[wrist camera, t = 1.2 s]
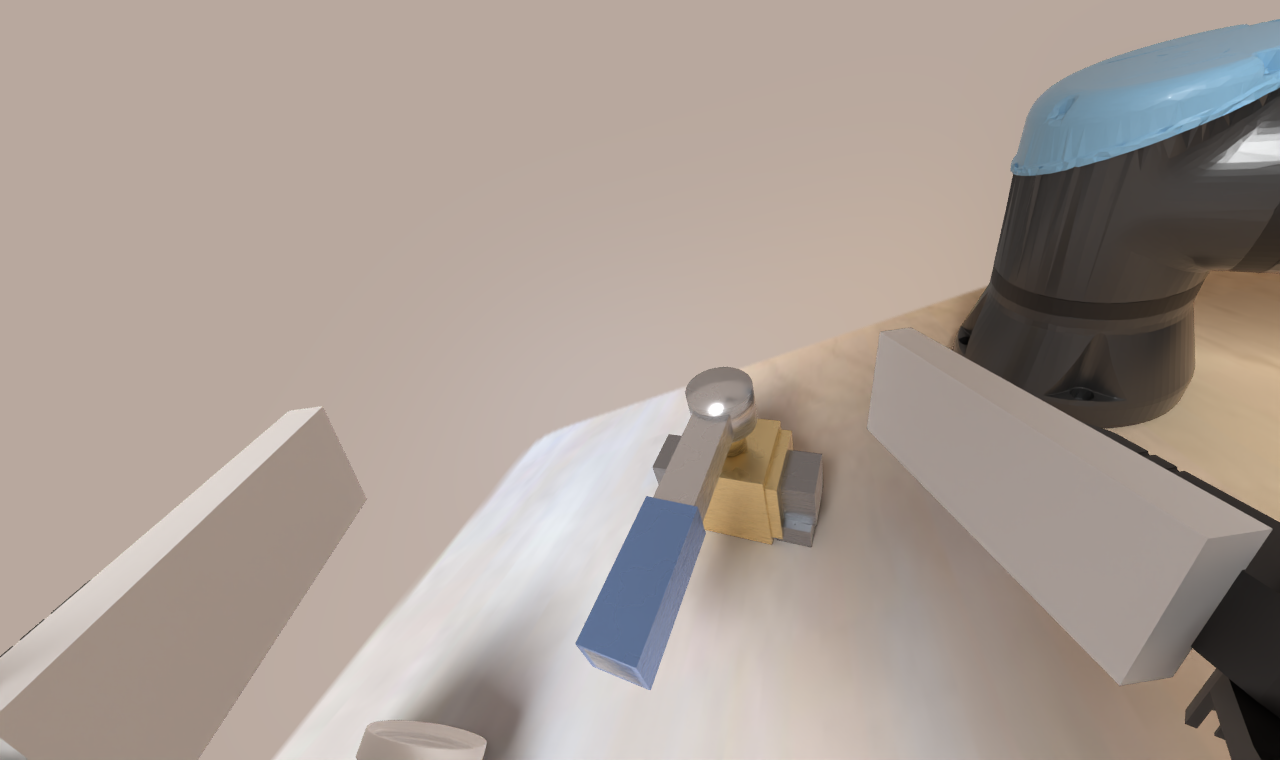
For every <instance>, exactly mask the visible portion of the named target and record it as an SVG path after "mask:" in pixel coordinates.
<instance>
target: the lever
mask: <svg viewBox="0 0 1280 760" xmlns="http://www.w3.org/2000/svg"><path fill="white" fill-rule="evenodd" d="M685 394H686V399H687V402H688V406H689V410H690V414H691V418H690V420H689V422H688V424H687V426H686V428H685V431H684V433H683V435H682V437H681V439H680V441H679V443H678V445H677V448H676V450H675V452H674V454H673V456H672V458H671V460H670V463H669V465H668V467H667V469H666V471H665V473H664V475H663V478H662V480H661V482H660V484H659V486H658V488H657V490H656V492H655V495H654V497H648V496H646V498H645V500H644V502H643V504H642V506H641V509H640V511H639V513H638V515H637V517H636V519H635V521H634V523H633V525H632V527H631V529H630V531H629V534H628V536H627V538H626V540H625V542H624V544H623V546H622V548H621V550H620V552H619V554H618V556H617V558H616V561H615V563H614V565H613V567H612V569H611V571H610V573H609V575H608V577H607V579H606V581H605V583H604V585H603V588H602V590H601V592H600V594H599V596H598V598H597V600H596V602H595V604H594V606H593V608H592V610H591V612H590V615H589V617H588V619H587V621H586V623H585V625H584V627H583V629H582V631H581V633H580V635H579V637H578V639H577V642H576V645H577V647H578V648H579V649H580V650H581V652H582V653H583V654H584V656H585V657H586V658H587V660H588V661H589V662H590V663H591V665H592V666H593V667H595V668H598V669H600V670H603V671H605V672H607V673H610V674H612V675H615V676H617V677H619V678H622V679H624V680H627V681H629V682H631V683H634V684H636V685H638V686H641V687H643V688H646V689H648V690H651V687H652V684H653V682H654V679H655V676H656V673H657V670H658V667H659V665H660V662H661V659H662V656H663V653H664V650H665V648H666V645H667V642H668V639H669V636H670V633H671V631H672V628H673V625H674V622H675V619H676V616H677V614H678V611H679V608H680V605H681V602H682V599H683V597H684V594H685V591H686V588H687V585H688V582H689V580H690V577H691V574H692V571H693V568H694V565H695V563H696V560H697V557H698V554H699V551H700V548H701V546H702V543H703V540H704V537H705V534H706V532H705V529H704V525H703V520H704V518H705V515H706V512H707V509H708V507H709V504H710V501H711V498H712V496H713V493H714V490H715V488H716V485H717V482H718V479H719V477H720V474H721V471H722V468H723V466H724V463H725V460H726V457H727V455H728V452H729V449H730V446H731V444H732V443H733V442H736V441H739V440H741V439H743V438H745V437H746V436H748V435H749V434H750V433H751V432H752V431H753V430H754V428H755V427H756V424H757V411H756V404H755V398H754V391H753V384H752V380H751V378H750V377H749V375H748V374H746V373H745V372H743V371H742V370H739V369H736V368H731V367H719V368H714V369H709V370H707V371H704V372H702V373H700V374H698V375H697V376H695V377H694V378H693V379H692V380H691V381H690V382H689V384H688V385H687V387H686V392H685Z"/></svg>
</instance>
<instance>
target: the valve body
mask: <svg viewBox="0 0 1280 760" xmlns="http://www.w3.org/2000/svg"><path fill="white" fill-rule="evenodd" d="M681 437H682V436H678V435H670V434H669V435H668V437H667V439H666V441H665V443H664V445H663V447H662V449H661V451H660V453H659V455H658V457H657V459H656V461H655V463H654V465H653V470H654V473H655V475H656V478H657V481H658V484H660V482H661V480H662V478H663V475H664V473H665V471H666V469H667V467H668V465H669V463H670V460H671V458H672V456H673V454H674V452H675V450H676V448H677V445H678V443H679V441H680V439H681ZM822 490H823V468H822V454H818V453H810V452H802V451H794V450H793V439H792V431H789V430H781V422H780V421H776V420H766V419H757V424H756V427H755V428H754V430H753V431H752V432H751V433H750V434H749V435H748V436H746V437H745V438H743V439H741V440H739V441H736V442H733V443H732V444H731V446H730V449H729V452H728V455H727V457H726V460H725V463H724V466H723V468H722V471H721V474H720V477H719V479H718V482H717V485H716V488H715V490H714V493H713V496H712V498H711V501H710V504H709V507H708V509H707V512H706V515H705V518H704V520H703V525H704V529H705V530H709V531H713V532H718V533H722V534H727V535H731V536H736V537H740V538H744V539H749V540H753V541H758V542H762V543H767V544H771V545H772V542H773V538H777V540H781V541H785V542H790V543H795V544H799V545H804V546H808V547H811V546H812V540H813V535H814V529H815V526H816V525H817V519H818V513H819V508H820V502H821V496H822Z"/></svg>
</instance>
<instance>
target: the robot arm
mask: <svg viewBox="0 0 1280 760" xmlns="http://www.w3.org/2000/svg"><path fill="white" fill-rule="evenodd" d="M1011 171H1012V172H1013V178H1012V183H1011V188H1010V192H1009V198H1008V202H1007V207H1006V212H1005V216H1004V220H1003V225H1002V229H1001V234H1000V239H999V243H998V247H997V252H996V256H995V261H994V267H993V272H992V276H991V280H990V283H989V285H988V287H987V288H986V290H985V291H984V293H983V294H982V296H981V297H980V299H979V300H978V302H977V303H976V305H975V306H974V308H973V309H972V311H971V312H970V314H969V315H968V317H967V318H966V320H965V321H964V323H963V324H962V326H961V327H960V329H959V331H958V332H957V335H956V338H955V342H954V347H953V351H952V350H950V349H949V348H947V347H945V346H943V345H942V344H940V343H938V342H936V341H934V340H933V339H931V338H929V337H927V336H925V335H924V334H922V333H920V332H918V331H916V330H915V329H913V328H904V329H897V330H889V331H882V332H880V335H879V342H878V350H877V357H876V365H875V372H874V379H873V387H872V394H871V402H870V409H869V416H868V424H867V430H868V431H869V432H870V433H871V434H872V435H873V436H874V437H875V438H876V439H877V440H878V441H879V442H880V443H881V444H882V445H883V446H884V447H885V448H886V449H887V450H888V451H889V452H890V453H891V454H892V455H893V456H894V457H895V458H896V459H897V460H898V461H899V462H900V463H901V464H902V465H903V466H904V467H905V468H906V469H907V470H908V471H909V472H910V473H911V474H912V475H913V476H914V477H915V478H916V479H917V480H918V481H919V482H920V483H921V484H922V485H923V486H924V487H925V488H926V489H927V491H928V492H929V493H930V494H931V495H932V496H933V497H934V498H935V499H936V500H937V501H938V502H939V503H940V504H941V505H942V506H943V507H944V508H945V509H946V510H947V511H948V512H949V513H950V514H951V515H952V516H953V517H954V518H955V519H956V520H957V521H958V522H959V523H960V524H961V525H962V526H963V527H964V528H965V529H966V530H967V531H968V532H969V533H970V534H971V535H972V536H973V537H974V538H975V539H976V540H977V541H978V542H979V543H980V544H981V545H982V546H983V547H984V548H985V549H986V550H987V551H988V552H989V553H990V555H991V556H992V557H993V558H994V559H995V560H996V561H997V562H998V563H999V564H1000V565H1001V566H1002V567H1003V568H1004V569H1005V570H1006V571H1007V572H1008V573H1009V574H1010V575H1011V576H1012V577H1013V578H1014V579H1015V580H1016V581H1017V582H1018V583H1019V584H1020V585H1021V586H1022V587H1023V588H1024V589H1025V590H1026V591H1027V592H1028V593H1029V594H1030V595H1031V596H1032V597H1033V598H1034V599H1035V600H1036V601H1037V602H1038V603H1039V604H1040V605H1041V606H1042V607H1043V608H1044V609H1045V610H1046V611H1047V612H1048V613H1049V614H1050V615H1051V616H1052V618H1053V619H1054V620H1055V621H1056V622H1057V623H1058V624H1059V625H1060V626H1061V627H1062V628H1063V629H1064V630H1065V631H1066V632H1067V633H1068V634H1069V635H1070V636H1071V637H1072V638H1073V639H1074V640H1075V641H1076V642H1077V643H1078V644H1079V645H1080V646H1081V647H1082V648H1083V649H1084V650H1085V651H1086V652H1087V653H1088V654H1089V655H1090V656H1091V657H1092V658H1093V659H1094V660H1095V661H1096V662H1097V663H1098V664H1099V665H1100V666H1101V667H1102V668H1103V669H1104V670H1105V671H1106V672H1107V673H1108V674H1109V675H1110V676H1111V677H1112V678H1113V679H1114V680H1115V682H1116V683H1117V684H1118V685H1119V686H1121V685H1127V684H1134V683H1140V682H1146V681H1152V680H1158V679H1164V678H1170V677H1173V676H1174V674H1175V673H1176V671H1177V670H1178V668H1179V667H1180V665H1181V664H1182V662H1183V661H1184V659H1185V658H1186V656H1187V655H1188V654H1189V652H1190V651H1191V649H1192V648H1193V649H1194V650H1195V651H1197V652H1198V653H1199V654H1200V655H1201V656H1203V657H1204V658H1205V659H1206V660H1207V661H1209V662H1210V663H1211V664H1212V665H1214V666H1215V667H1216V670H1215V671H1214V672H1213V674H1212V675H1211V676H1210V678H1209V679H1208V680H1207V682H1206V683H1205V684H1204V686H1203V687H1202V689H1201V690H1200V691H1199V693H1198V694H1197V695H1196V697H1195V698H1194V699H1193V701H1192V702H1191V703H1190V705H1189V706H1188V708H1187V709H1186V714H1185V724H1187V725H1190V726H1192V727H1195V728H1198V726H1199V725H1200V724H1201V723H1202V721H1203V720H1204V719H1205V718H1206V716H1207V715H1208V714H1209V712H1210V711H1211V710H1215V711H1216V713H1217V716H1218V719H1219V722H1220V726H1219V727H1218V729H1217V730H1216V731H1215V732H1214V736H1217V737H1219V738H1222V739H1224V740H1226V744H1227V747H1228V750H1229V753H1230V756H1231V759H1232V760H1280V522H1278V521H1276V520H1274V519H1273V518H1271V517H1269V516H1267V515H1265V514H1263V513H1261V512H1260V511H1258V510H1256V509H1254V508H1252V507H1250V506H1248V505H1247V504H1245V503H1243V502H1241V501H1239V500H1237V499H1236V498H1234V497H1232V496H1230V495H1228V494H1226V493H1224V492H1223V491H1221V490H1219V489H1217V488H1215V487H1213V486H1212V485H1210V484H1208V483H1206V482H1204V481H1202V480H1200V479H1199V478H1197V477H1195V476H1193V475H1191V474H1189V473H1188V472H1186V471H1181V472H1179V471H1178V470H1177V467H1176V466H1175V465H1173V464H1171V463H1169V462H1167V461H1165V460H1164V459H1162V458H1160V457H1158V456H1156V455H1151V456H1150V455H1149V454H1148V451H1147V450H1145V449H1143V448H1141V447H1139V446H1138V445H1136V444H1134V443H1132V442H1130V441H1128V440H1127V439H1125V438H1123V437H1121V436H1119V435H1117V434H1115V433H1113V432H1111V431H1108V430H1105V429H1102V428H1114V427H1123V426H1129V425H1135V424H1139V423H1143V422H1146V421H1149V420H1152V419H1155V418H1157V417H1159V416H1161V415H1163V414H1165V413H1166V412H1168V411H1170V410H1171V409H1172V408H1173V407H1174V406H1175V405H1176V404H1177V403H1178V402H1179V400H1180V399H1181V397H1182V395H1183V394H1184V392H1185V390H1186V388H1187V386H1188V385H1189V383H1190V381H1191V379H1192V377H1193V373H1194V370H1195V340H1194V308H1193V303H1194V300H1195V298H1196V295H1197V293H1198V291H1199V289H1200V287H1201V286H1202V284H1203V282H1204V280H1205V278H1206V276H1207V275H1208V273H1209V272H1210V271H1237V272H1256V273H1261V272H1262V273H1280V19H1278V20H1272V21H1269V22H1262V23H1259V24H1255V25H1250V26H1249V25H1247V24H1246V25H1237V26H1230V27H1225V28H1220V29H1215V30H1211V31H1206V32H1202V33H1198V34H1193V35H1189V36H1185V37H1181V38H1177V39H1173V40H1170V41H1165V42H1162V43H1158V44H1154V45H1151V46H1148V47H1144V48H1141V49H1137V50H1134V51H1131V52H1128V53H1125V54H1122V55H1118V56H1115V57H1113V58H1110V59H1107V60H1104V61H1102V62H1099V63H1097V64H1094V65H1092V66H1089V67H1087V68H1084V69H1082V70H1080V71H1077V72H1075V73H1073V74H1072V75H1069V76H1067V77H1066V78H1064V79H1062V80H1060V81H1059V82H1057V83H1056V84H1054V85H1053V86H1051V87H1050V88H1049V89H1047V90H1046V91H1045V92H1044V93H1043V94H1042V95H1041V96H1040V97H1039V98H1038V99H1037V100H1036V102H1035V103H1034V104H1033V106H1032V108H1031V109H1030V112H1029V113H1028V116H1027V119H1026V123H1025V126H1024V130H1023V133H1022V137H1021V141H1020V145H1019V149H1018V152H1017V154H1016V156H1015V157H1014V159H1013V160H1012V163H1011ZM366 500H367V498H366V497H365V495H364V492H363V490H362V488H361V486H360V484H359V482H358V479H357V477H356V475H355V473H354V471H353V469H352V467H351V465H350V463H349V460H348V459H347V456H346V454H345V452H344V450H343V448H342V446H341V444H340V442H339V439H338V437H337V436H336V433H335V431H334V429H333V427H332V425H331V423H330V421H329V418H328V416H327V414H326V412H325V410H324V408H323V407H314V408H307V409H299V410H292V411H288V412H287V413H286V414H285V415H283V416H282V417H281V418H280V419H279V420H278V421H276V422H275V423H274V424H273V425H272V426H271V427H269V428H268V429H267V430H266V431H265V432H264V433H262V434H261V435H260V436H259V437H258V438H257V439H255V440H254V441H253V442H252V443H251V444H250V445H248V446H247V447H246V448H245V449H244V450H243V451H242V452H240V453H239V454H238V455H237V456H236V457H234V458H233V459H232V460H231V461H230V462H229V463H228V464H226V465H225V466H224V467H223V468H222V469H220V470H219V471H218V472H217V473H216V474H214V475H213V476H212V477H211V478H210V479H209V480H208V481H206V482H205V483H204V484H203V485H202V486H201V487H199V488H198V489H197V490H196V491H195V492H193V493H192V494H191V495H190V496H189V497H188V498H186V499H185V500H184V501H183V502H182V503H181V504H179V505H178V506H177V507H176V508H175V509H174V510H173V511H171V512H170V513H169V514H168V515H167V516H165V517H164V518H163V519H162V520H161V521H160V522H158V523H157V524H156V525H155V526H154V527H152V528H151V529H150V530H149V531H148V532H147V533H145V534H144V535H143V536H142V537H141V538H140V539H138V540H137V541H136V542H135V543H134V544H133V545H131V546H130V547H129V548H128V549H127V550H126V551H124V552H123V553H122V554H121V555H120V556H119V557H117V558H116V559H115V560H114V561H113V562H112V563H110V564H109V565H108V566H107V567H106V568H105V569H103V570H102V571H101V572H100V573H99V574H98V575H96V576H95V577H94V578H93V579H92V580H90V581H88V582H87V583H86V584H84V585H83V586H82V587H81V588H80V589H79V590H77V591H76V592H75V593H74V594H73V595H72V596H70V597H69V598H68V599H67V600H66V601H64V602H63V603H62V604H61V605H60V606H59V607H58V608H56V609H55V610H54V611H53V612H52V613H51V615H50V616H48V618H46V619H43V620H42V621H41V622H40V623H39V624H37V625H36V626H35V627H34V628H33V629H32V630H30V631H29V632H28V633H27V634H26V635H25V636H23V637H22V638H21V639H20V641H19V642H18V643H17V644H16V645H14V646H12V647H11V648H9V649H8V650H7V651H6V652H5V653H4V654H2V655H1V656H0V760H198V759H199V757H200V756H201V754H202V753H203V751H204V750H205V748H206V746H207V745H208V744H209V742H210V741H211V739H212V738H213V736H214V734H215V733H216V731H217V730H218V728H219V727H220V725H221V724H222V722H223V721H224V719H225V717H226V716H227V714H228V713H229V711H230V710H231V708H232V707H233V705H234V704H235V702H236V700H237V699H238V697H239V696H240V694H241V693H242V691H243V690H244V688H245V687H246V685H247V683H248V682H249V680H250V679H251V677H252V676H253V674H254V673H255V671H256V670H257V668H258V667H259V665H260V663H261V662H262V660H263V659H264V657H265V656H266V654H267V653H268V651H269V650H270V648H271V646H272V645H273V643H274V642H275V640H276V639H277V637H278V636H279V634H280V633H281V631H282V630H283V628H284V627H285V625H286V623H287V622H288V620H289V619H290V617H291V616H292V614H293V613H294V611H295V609H296V608H297V606H298V605H299V603H300V602H301V600H302V599H303V597H304V596H305V594H306V593H307V591H308V589H309V588H310V586H311V585H312V583H313V582H314V580H315V578H316V577H317V575H318V574H319V573H320V571H321V569H322V568H323V566H324V565H325V563H326V562H327V560H328V559H329V557H330V556H331V554H332V552H333V551H334V549H335V548H336V546H337V545H338V543H339V542H340V540H341V539H342V537H343V535H344V534H345V532H346V531H347V529H348V528H349V526H350V525H351V523H352V522H353V520H354V519H355V517H356V515H357V514H358V512H359V511H360V509H361V508H362V506H363V505H364V503H365V501H366Z"/></svg>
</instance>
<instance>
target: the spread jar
mask: <svg viewBox="0 0 1280 760" xmlns="http://www.w3.org/2000/svg"><path fill="white" fill-rule="evenodd" d="M486 745H487V741H486V740H485V739H484V738H483V737H482V736H480V735H477V734H475V733H473V732H470V731H467V730H463V729H460V728H456V727H452V726H447V725H441V724H435V723H428V722H420V721H405V720H388V721H378V722H374V723H371V724H369V725H368V726H367V728H366V730H365V733H364V736H363V738H362V741H361V744H360V746H359V749H358V752H357V755H356V758H357V760H483V756H484V752H485V749H486Z"/></svg>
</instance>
